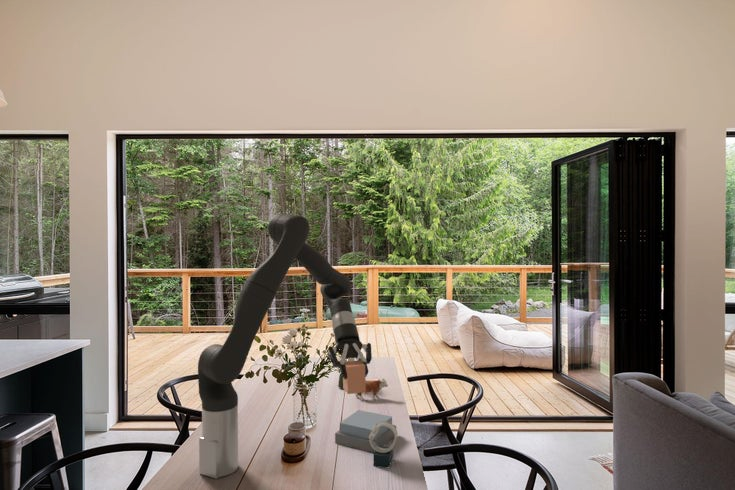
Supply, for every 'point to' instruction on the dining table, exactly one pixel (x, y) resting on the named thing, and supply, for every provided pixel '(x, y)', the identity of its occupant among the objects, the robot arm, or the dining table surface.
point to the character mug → (340, 373)
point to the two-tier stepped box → (363, 430)
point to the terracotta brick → (354, 377)
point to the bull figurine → (373, 387)
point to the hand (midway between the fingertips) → (355, 376)
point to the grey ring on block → (382, 453)
